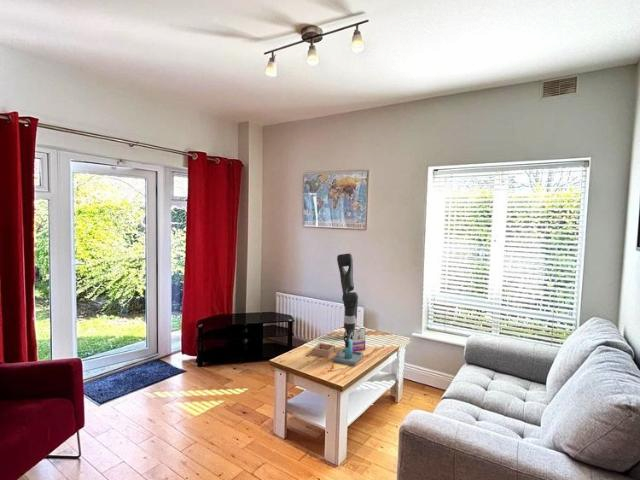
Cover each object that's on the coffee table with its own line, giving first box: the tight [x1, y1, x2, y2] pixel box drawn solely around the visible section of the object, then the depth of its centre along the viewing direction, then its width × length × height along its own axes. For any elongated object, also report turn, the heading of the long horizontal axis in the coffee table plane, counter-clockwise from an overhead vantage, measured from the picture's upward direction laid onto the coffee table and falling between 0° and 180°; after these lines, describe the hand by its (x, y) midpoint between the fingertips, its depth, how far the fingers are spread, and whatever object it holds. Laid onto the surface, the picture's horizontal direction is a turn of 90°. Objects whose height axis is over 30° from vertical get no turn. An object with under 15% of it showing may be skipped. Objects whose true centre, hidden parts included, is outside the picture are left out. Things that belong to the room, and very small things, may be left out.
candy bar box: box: [352, 325, 366, 352], centre depth 248 cm, size 11×5×16 cm, turn 112°
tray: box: [332, 348, 364, 367], centre depth 231 cm, size 18×15×2 cm
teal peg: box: [344, 339, 353, 359], centre depth 231 cm, size 5×5×12 cm
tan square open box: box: [312, 342, 336, 358], centre depth 241 cm, size 12×12×4 cm
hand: (349, 345), depth 231 cm, fingers open, 8 cm apart
